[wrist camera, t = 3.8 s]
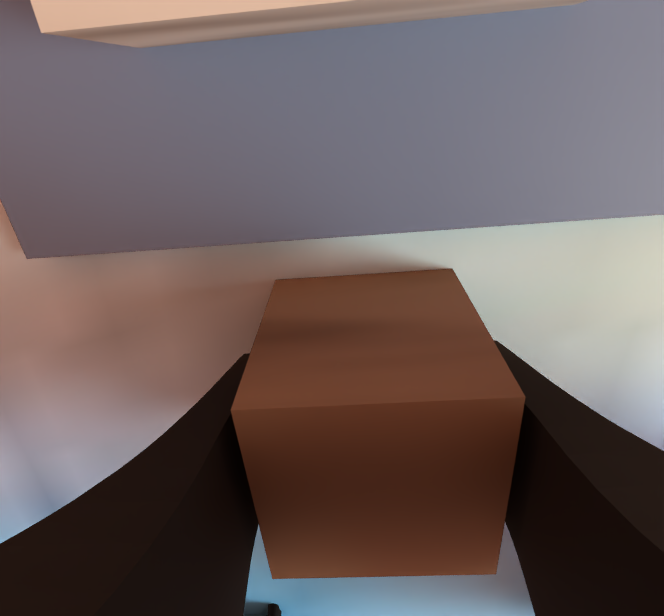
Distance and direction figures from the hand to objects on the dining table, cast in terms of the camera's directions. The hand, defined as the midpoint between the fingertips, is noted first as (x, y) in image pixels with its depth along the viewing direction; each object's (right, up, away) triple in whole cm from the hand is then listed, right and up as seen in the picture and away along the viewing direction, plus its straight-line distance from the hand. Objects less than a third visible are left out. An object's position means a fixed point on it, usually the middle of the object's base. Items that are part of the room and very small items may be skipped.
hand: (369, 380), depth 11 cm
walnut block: (0, +1, +1) cm, 2 cm away
